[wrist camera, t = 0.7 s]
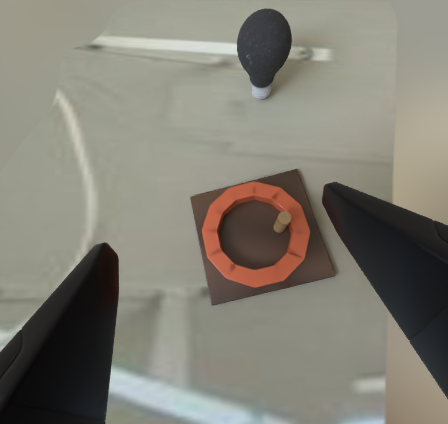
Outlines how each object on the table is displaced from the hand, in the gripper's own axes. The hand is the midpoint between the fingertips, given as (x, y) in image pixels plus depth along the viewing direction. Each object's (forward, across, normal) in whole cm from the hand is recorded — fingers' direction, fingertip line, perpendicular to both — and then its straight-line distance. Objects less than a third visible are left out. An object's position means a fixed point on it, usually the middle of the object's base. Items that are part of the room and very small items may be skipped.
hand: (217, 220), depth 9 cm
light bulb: (+26, -9, +4) cm, 27 cm away
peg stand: (+10, -3, +13) cm, 17 cm away
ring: (+10, -3, +13) cm, 16 cm away
